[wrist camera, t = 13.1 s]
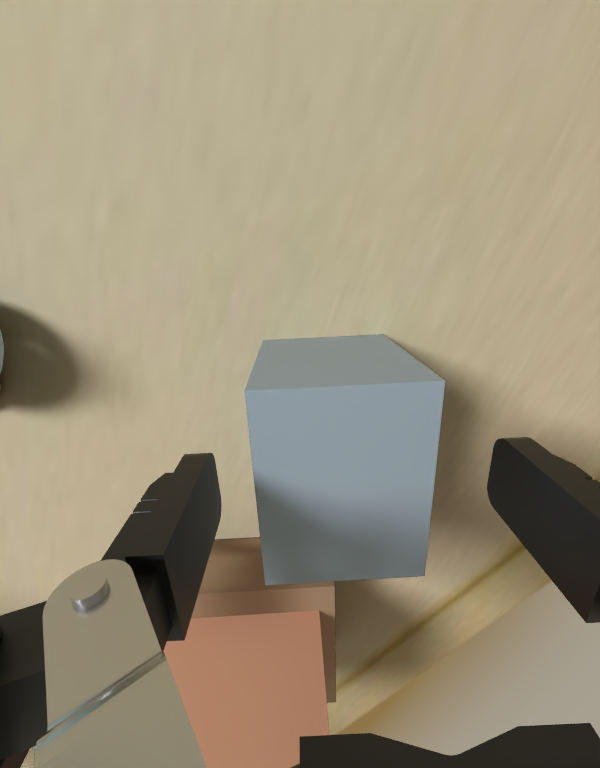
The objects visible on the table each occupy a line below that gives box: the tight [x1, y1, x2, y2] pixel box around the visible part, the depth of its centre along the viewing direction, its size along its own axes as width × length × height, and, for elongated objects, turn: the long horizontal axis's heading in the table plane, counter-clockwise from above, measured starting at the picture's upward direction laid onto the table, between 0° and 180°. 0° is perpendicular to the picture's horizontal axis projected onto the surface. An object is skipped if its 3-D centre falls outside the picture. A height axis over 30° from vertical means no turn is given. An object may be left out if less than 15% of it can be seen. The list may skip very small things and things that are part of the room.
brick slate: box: [245, 334, 445, 585], centre depth 12 cm, size 6×5×6 cm
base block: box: [191, 538, 336, 703], centre depth 17 cm, size 8×8×3 cm
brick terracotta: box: [163, 610, 329, 768], centre depth 13 cm, size 6×5×6 cm
